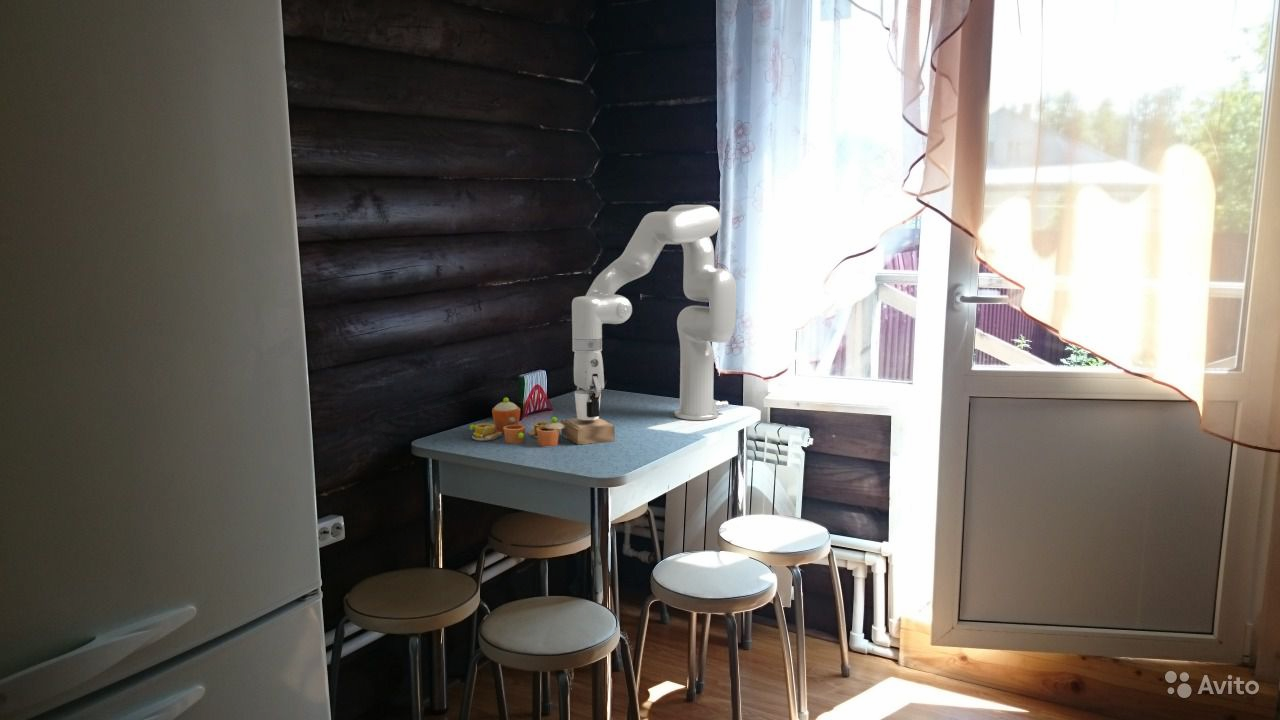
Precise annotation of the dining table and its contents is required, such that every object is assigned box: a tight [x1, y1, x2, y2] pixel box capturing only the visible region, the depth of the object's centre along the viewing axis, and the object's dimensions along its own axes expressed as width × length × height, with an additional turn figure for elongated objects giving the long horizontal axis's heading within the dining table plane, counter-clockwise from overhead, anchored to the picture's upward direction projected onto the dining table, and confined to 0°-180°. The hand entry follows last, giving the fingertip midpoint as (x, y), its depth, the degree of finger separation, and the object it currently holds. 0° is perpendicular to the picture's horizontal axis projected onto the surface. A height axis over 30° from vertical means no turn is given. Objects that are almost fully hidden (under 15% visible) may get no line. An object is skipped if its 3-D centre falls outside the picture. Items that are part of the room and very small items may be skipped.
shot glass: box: [574, 389, 602, 420], centre depth 236 cm, size 7×7×7 cm
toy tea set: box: [469, 397, 565, 447], centre depth 236 cm, size 26×16×10 cm, turn 67°
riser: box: [560, 417, 616, 446], centre depth 237 cm, size 10×12×4 cm
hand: (588, 413), depth 236 cm, fingers closed on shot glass, 6 cm apart
